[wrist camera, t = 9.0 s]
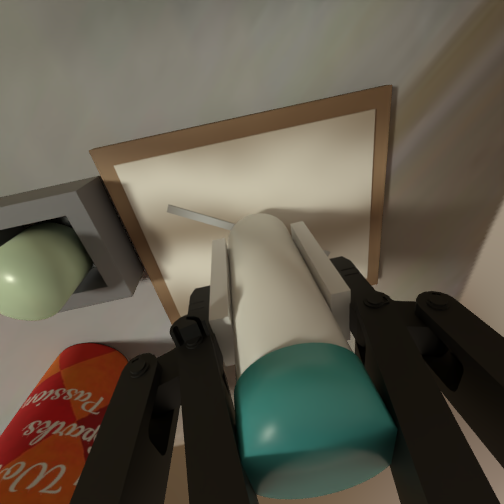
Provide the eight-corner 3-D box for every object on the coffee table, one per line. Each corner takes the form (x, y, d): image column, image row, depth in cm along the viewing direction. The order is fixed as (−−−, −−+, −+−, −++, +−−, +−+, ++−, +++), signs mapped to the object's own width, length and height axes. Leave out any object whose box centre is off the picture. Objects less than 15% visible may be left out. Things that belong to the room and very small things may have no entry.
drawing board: (94, 148, 15) (83, 153, 14) (384, 85, 15) (399, 84, 14) (175, 321, 22) (172, 335, 21) (372, 278, 22) (382, 289, 21)
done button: (4, 230, 15) (-53, 265, 12) (73, 215, 15) (34, 246, 12) (45, 285, 17) (5, 327, 14) (105, 271, 17) (80, 311, 14)
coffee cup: (158, 353, 24) (90, 650, 11) (120, 402, 27) (29, 684, 14) (59, 318, 21) (-199, 676, 8) (27, 377, 24) (-201, 713, 11)
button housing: (-16, 200, 16) (-62, 220, 13) (98, 176, 16) (75, 190, 13) (50, 290, 19) (25, 319, 17) (143, 270, 20) (132, 296, 17)
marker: (218, 219, 16) (219, 440, 6) (287, 205, 16) (413, 399, 6) (233, 275, 18) (254, 510, 8) (293, 262, 18) (394, 479, 8)
